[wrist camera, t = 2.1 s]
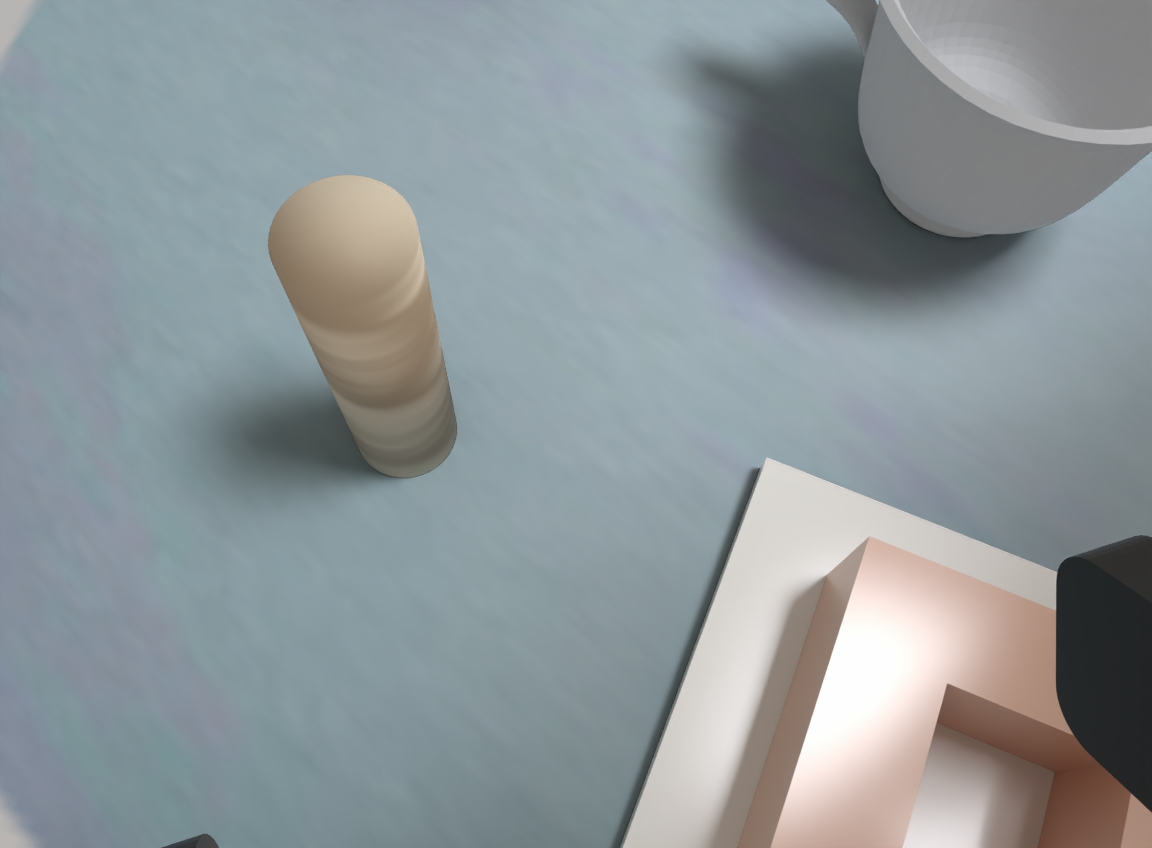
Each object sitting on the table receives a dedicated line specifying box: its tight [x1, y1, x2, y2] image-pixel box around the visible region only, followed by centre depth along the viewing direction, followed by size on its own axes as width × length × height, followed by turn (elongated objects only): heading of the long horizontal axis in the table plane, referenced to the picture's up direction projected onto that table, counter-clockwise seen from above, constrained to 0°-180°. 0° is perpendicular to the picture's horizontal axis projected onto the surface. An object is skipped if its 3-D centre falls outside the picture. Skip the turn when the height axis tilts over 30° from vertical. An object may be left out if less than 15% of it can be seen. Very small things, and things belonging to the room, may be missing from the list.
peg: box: [268, 175, 457, 478], centre depth 29 cm, size 3×3×12 cm
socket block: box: [620, 458, 1152, 848], centre depth 28 cm, size 17×17×6 cm
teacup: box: [826, 0, 1152, 238], centre depth 35 cm, size 12×15×10 cm
